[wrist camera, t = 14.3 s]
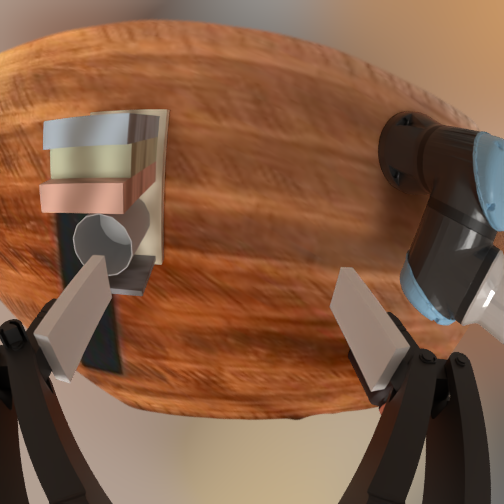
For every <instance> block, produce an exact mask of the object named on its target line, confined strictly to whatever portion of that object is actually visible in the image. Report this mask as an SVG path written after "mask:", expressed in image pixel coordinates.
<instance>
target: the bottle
mask: <svg viewBox="0 0 504 504" xmlns="http://www.w3.org/2000/svg"><path fill="white" fill-rule="evenodd" d="M348 357H349V360H350V362H351V364H352V366H353V368H354V370H355V372H356V374H357V376H358V378H359V380H360V382H361V384H362V386H363V388H364V390H365V392H366V394H367V396H368V399H369V401H370V402H371V404H373V405H377V406H379V411H380V413H381V415H382V412H383V409H384V407H385V404H386V401H387V400H386V401H383V400H384V399H385V397H386V396H387V395H388V393H389V392H390V390H391V389H392V387H393V385H392V383H391V381H389V383H388V385H387V386H386V388H385V389H382V390H377V391H372V392H371V390H370V388H369V386H368V384H367V382H366V380H365V378H364V375H363V373H362V371H361V369H360V367H359V365H358V363H357V361H356V359H355V357H354V354H353V352H352V350H350V351H349V354H348Z"/></svg>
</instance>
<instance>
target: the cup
mask: <svg viewBox="0 0 504 504" xmlns="http://www.w3.org/2000/svg"><path fill="white" fill-rule="evenodd" d="M149 226H150V214H149V212H148V210H147V207H146V205H145V203H144V202H143V201H142V200H140V199H139V198H138V199H137V200H136V201H135V203H134V204H133V205H132V206H131V207H130V208H129V209H128V210H127V211H126V212H125V213H124V214H100V213H89V214H88V215H87V216H86V217H85V218H84V219H83V220H82V221H81V222H80V223H79V224H78V225H77V226H76V229H75V233H74V236H73V241H74V248H75V252H76V254H77V256H78V257H79V259H80V261H81V263H82V264H83V265H85V264H86V262H87V261H88V260H89V259H90V258H91V257H92V255H101V256H105V262H106V268H107V274H108V276H111V275H118V274H119V273H120V272H122V271H123V270H124V269H126V268H127V267H128V265H129V263H130V262H131V260H132V258H133V256H134V254H135V252H136V251H137V249H138V247H139V245H140V243H141V242H142V240H143V238H144V236H145V235H146V232H147V230H148V228H149Z"/></svg>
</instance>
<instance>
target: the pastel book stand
mask: <svg viewBox="0 0 504 504" xmlns="http://www.w3.org/2000/svg"><path fill="white" fill-rule="evenodd" d="M169 112H170V110H168V109H144V110H118V111H103V112H91V113H90V116H81V117H72V118H64V119H57V120H51V121H44V131H43V150H46V149H50V165H51V179H50V180H48V181H46V182H44V183H42V184H40V185H39V188H40V200H41V209H42V212H51V213H100V214H124V213H125V212H126V211H127V210H128V209H129V208H130V207H131V206H132V205H133V204H134V203H135V201H136V200H137V199H138V198H139V199H140V200H142V201H143V202H144V203H145V205H146V207H147V210H148V212H149V214H150V226H149V228H148V230H147V232H146V235H145V236H144V238H143V240H142V242H141V243H140V245H139V247H138V249H137V251H136V252H135V254H134V256H133V258H132V260H131V262H130V263H129V265H128V267H127V268H126V269H124V270H123V271H122V272H120V273H119V274H118V275H111V276H108V280H109V285H110V291H111V293H114V294H124V295H135V296H143V293H144V290H145V288H146V285H147V282H148V279H149V277H150V274H151V271H152V269H153V266H154V264H161V265H162V263H163V260H164V242H163V219H164V180H165V161H166V146H167V133H168V122H169Z"/></svg>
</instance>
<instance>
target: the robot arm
mask: <svg viewBox="0 0 504 504" xmlns="http://www.w3.org/2000/svg"><path fill="white" fill-rule="evenodd" d="M379 161H380V166H381V169H382V171H383V174H384V176H385V177H386V179H387V180H388V181H389V183H390V184H391V185H392V186H394V187H395V188H397V189H399V190H401V191H403V192H405V193H407V194H412V195H427V194H430V198H429V201H428V204H427V206H426V209H425V212H424V215H423V217H422V220H421V223H420V225H419V228H418V230H417V233H416V235H415V238H414V240H413V243H412V245H411V247H410V249H409V251H408V252H407V254H406V260H405V263H404V265H403V268H402V270H401V273H400V283H401V287H402V290H403V292H404V294H405V296H406V297H407V299H408V300H409V301H410V303H411V304H412V305H413V306H414V307H415V308H416V309H417V310H418V311H419V312H420V313H421V314H423V315H424V316H425V317H427V318H428V319H430V320H434V321H435V322H436V323H437V324H440V325H450V324H451V323H453V322H455V320H456V321H457V322H459V323H460V324H461V325H463V326H464V325H468V324H472V323H478V324H480V326H482V327H483V328H485V329H486V330H487V331H488V332H489V333H490V334H492V335H493V336H494V337H495V338H497V339H498V340H499V341H500V342H501V343H503V344H504V255H503V252H502V251H501V250H500V249H498V248H497V247H495V246H494V245H493V241H494V239H495V236H496V234H497V231H504V139H502V138H499V137H496V136H493V135H491V134H489V133H487V132H479V131H474V130H469V129H463V128H457V127H451V126H444V125H441V124H440V123H438V122H437V121H435V120H433V119H432V118H430V117H428V116H427V115H425V114H422V113H419V112H401V113H399V114H397V115H395V116H393V117H392V118H391V119H390V120H389V121H388V122H387V124H386V125H385V127H384V129H383V131H382V133H381V137H380V141H379ZM111 298H112V296H111V291H110V285H109V280H108V274H107V268H106V262H105V256H101V255H92V257H91V258H90V259H89V260H88V261H87V262H86V264H85V265H84V266H83V267H82V268H81V270H80V271H79V272H78V273H77V275H76V276H75V277H74V278H73V280H72V281H71V282H70V283H69V285H68V286H67V287H66V288H65V290H64V291H63V292H62V294H61V295H60V296H59V298H58V299H54V298H53V299H52V300H51V301H49V302H48V303H46V304H45V306H44V307H43V308H42V310H41V312H39V314H38V315H37V317H36V318H35V319H34V321H33V322H32V323H31V325H30V326H29V328H28V329H27V331H25V329H24V327H23V325H22V322H21V321H19V320H17V319H12V320H8V321H6V322H4V323H3V324H2V325H1V326H0V339H1V341H2V343H3V345H0V504H29V501H28V497H27V492H26V488H25V482H24V477H23V471H22V464H21V457H20V448H19V436H18V421H19V425H20V428H21V432H22V434H23V438H24V441H25V444H26V447H27V450H28V453H29V456H30V459H31V461H32V464H33V467H34V469H35V471H36V474H37V476H38V479H39V481H40V483H41V486H42V488H43V490H44V492H45V494H46V496H47V498H48V500H49V504H112V502H111V501H110V499H109V498H108V496H107V495H106V494H105V492H104V490H103V489H102V488H101V486H100V484H99V483H98V481H97V479H96V478H95V476H94V475H93V473H92V471H91V469H90V467H89V466H88V464H87V462H86V460H85V458H84V456H83V455H82V453H81V451H80V449H79V447H78V445H77V443H76V441H75V439H74V437H73V434H72V432H71V430H70V428H69V426H68V423H67V421H66V419H65V416H64V414H63V411H62V409H61V406H60V404H59V401H58V399H57V396H56V393H55V390H54V387H53V385H52V382H51V380H50V378H49V376H50V373H51V371H52V372H53V374H54V376H55V377H56V379H58V380H61V381H65V382H68V383H70V382H71V380H72V378H73V375H74V373H75V371H76V369H77V366H78V364H79V362H80V360H81V357H82V355H83V353H84V351H85V349H86V347H87V345H88V343H89V341H90V339H91V336H92V334H93V332H94V330H95V328H96V326H97V324H98V323H99V321H100V319H101V317H102V315H103V313H104V311H105V309H106V307H107V305H108V304H109V302H110V300H111ZM330 308H331V310H332V312H333V314H334V316H335V318H336V320H337V322H338V324H339V326H340V328H341V330H342V332H343V334H344V336H345V338H346V340H347V342H348V344H349V346H350V348H351V350H352V352H353V354H354V357H355V359H356V361H357V363H358V365H359V367H360V369H361V371H362V373H363V375H364V378H365V380H366V382H367V384H368V386H369V388H370V390H371V392H372V391H377V390H382V389H385V388H386V386H387V385H388V383H389V381H391V383H392V385H393V387H392V389H391V390H390V392H389V393H388V395H387V396H386V397H385V399H384V400H383V401H386V400H387V401H386V404H385V407H384V409H383V412H382V415H381V417H380V420H379V422H378V425H377V427H376V430H375V432H374V435H373V437H372V439H371V441H370V444H369V446H368V448H367V450H366V453H365V455H364V457H363V459H362V461H361V463H360V465H359V467H358V469H357V471H356V473H355V475H354V477H353V478H352V480H351V482H350V484H349V486H348V488H347V489H346V491H345V493H344V495H343V496H342V498H341V500H340V501H339V503H338V504H405V500H406V497H407V494H408V492H409V489H410V486H411V484H412V481H413V478H414V475H415V472H416V469H417V466H418V462H419V459H420V455H421V452H422V448H423V445H424V441H425V437H426V466H425V481H424V482H425V483H424V493H423V501H422V504H491V480H490V463H489V452H488V443H487V435H486V428H485V422H484V416H483V411H482V406H481V401H480V397H479V392H478V389H477V384H476V380H475V377H474V373H473V369H472V366H471V363H470V360H469V359H468V358H467V357H466V355H464V354H462V353H459V352H454V353H452V354H451V355H450V357H449V358H448V360H444V359H437V357H436V356H435V355H434V354H433V353H432V352H431V351H429V350H427V349H420V348H419V347H418V345H417V344H416V342H415V341H414V340H413V338H412V337H411V335H410V334H409V333H408V331H406V328H405V327H404V326H403V324H402V323H401V322H400V320H399V319H398V318H397V317H396V316H395V315H393V314H392V313H391V312H386V311H385V310H384V308H383V307H382V306H381V304H380V303H379V302H378V300H377V299H376V298H375V296H374V295H373V294H372V292H371V291H370V290H369V288H368V287H367V286H366V284H365V283H364V282H363V280H362V279H361V278H360V277H359V275H358V274H357V273H356V271H355V270H354V269H353V268H347V267H341V269H340V272H339V276H338V280H337V283H336V287H335V290H334V294H333V297H332V301H331V304H330Z"/></svg>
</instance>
